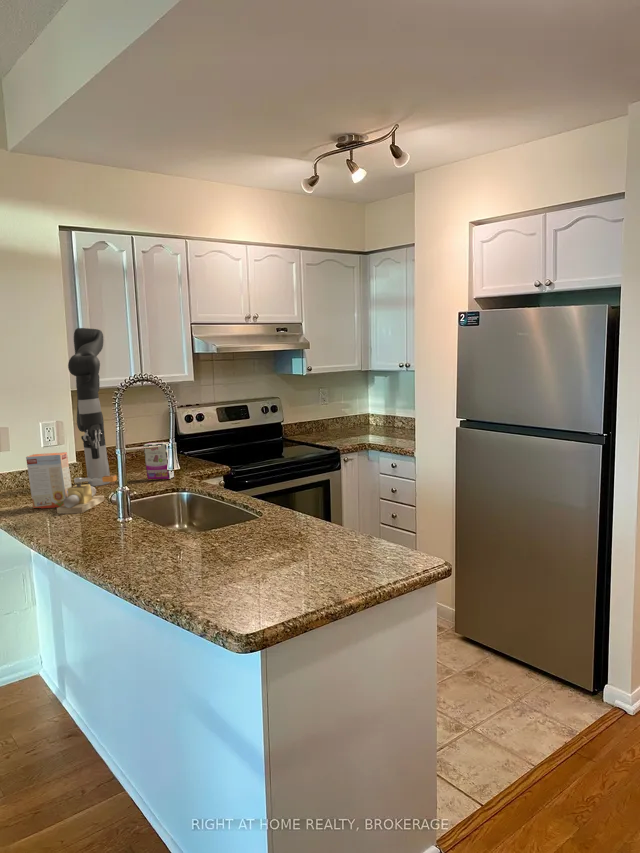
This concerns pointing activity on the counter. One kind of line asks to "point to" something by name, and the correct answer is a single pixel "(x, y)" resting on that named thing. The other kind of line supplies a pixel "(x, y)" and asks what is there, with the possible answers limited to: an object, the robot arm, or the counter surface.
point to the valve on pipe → (80, 499)
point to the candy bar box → (157, 461)
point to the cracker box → (48, 479)
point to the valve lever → (96, 479)
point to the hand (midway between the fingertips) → (96, 458)
